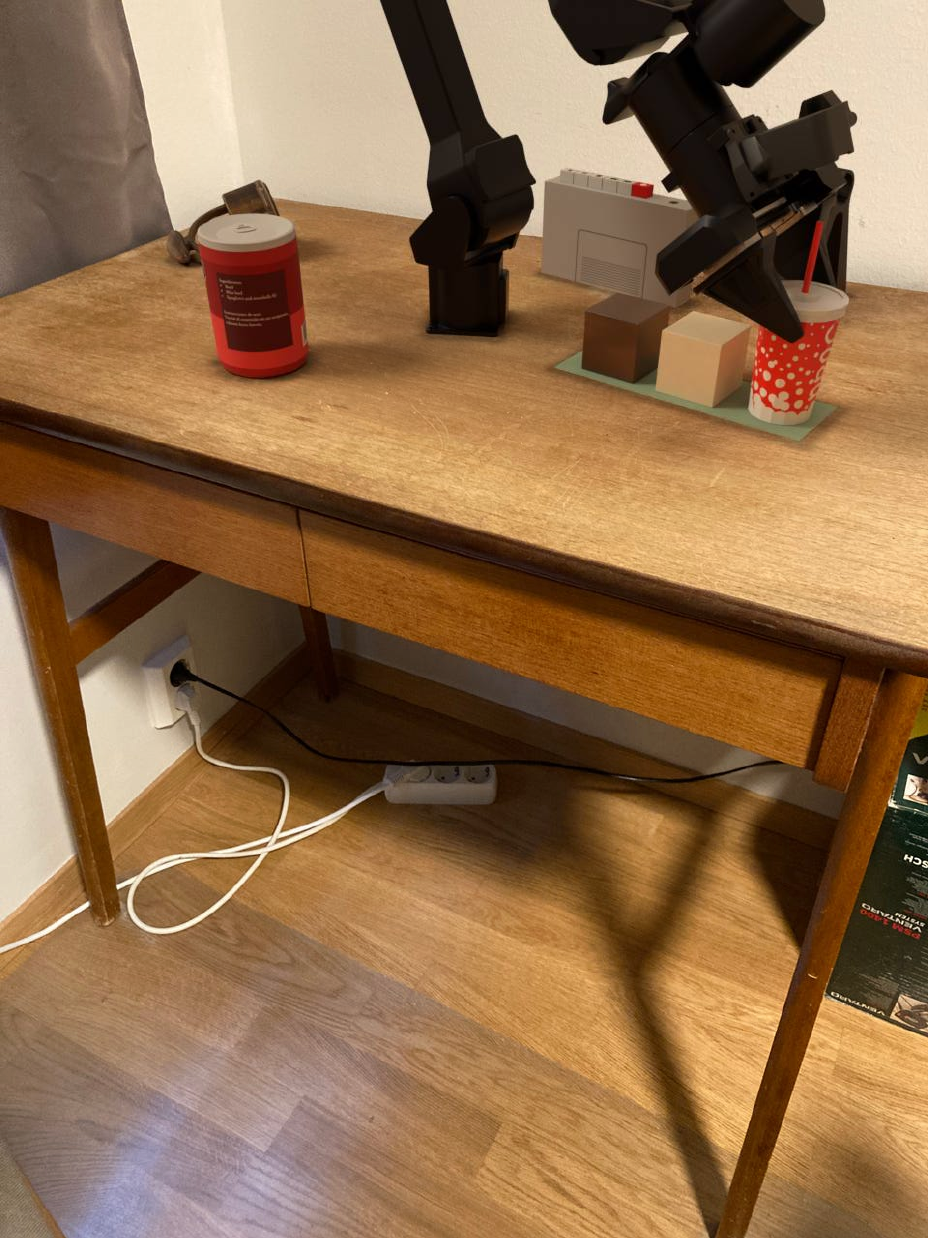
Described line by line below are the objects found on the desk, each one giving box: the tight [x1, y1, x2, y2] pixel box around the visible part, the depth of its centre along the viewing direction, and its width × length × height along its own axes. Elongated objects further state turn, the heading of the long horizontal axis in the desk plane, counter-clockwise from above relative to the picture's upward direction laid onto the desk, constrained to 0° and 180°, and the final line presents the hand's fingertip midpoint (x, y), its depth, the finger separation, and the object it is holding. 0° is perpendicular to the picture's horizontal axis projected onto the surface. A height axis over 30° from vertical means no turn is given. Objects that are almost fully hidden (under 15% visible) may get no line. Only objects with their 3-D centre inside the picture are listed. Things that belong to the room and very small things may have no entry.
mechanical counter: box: [166, 179, 281, 264], centre depth 105 cm, size 7×13×10 cm
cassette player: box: [540, 167, 699, 309], centre depth 95 cm, size 16×3×10 cm, turn 50°
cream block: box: [655, 310, 752, 408], centre depth 78 cm, size 5×5×5 cm
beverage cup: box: [748, 221, 850, 425], centre depth 72 cm, size 6×6×14 cm
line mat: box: [553, 350, 838, 443], centre depth 80 cm, size 22×7×1 cm, turn 52°
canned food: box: [197, 214, 309, 379], centre depth 82 cm, size 8×8×11 cm
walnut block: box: [581, 292, 672, 384], centre depth 81 cm, size 5×5×5 cm
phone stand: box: [761, 167, 856, 294], centre depth 92 cm, size 9×6×12 cm, turn 133°
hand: (817, 325), depth 71 cm, fingers closed on beverage cup, 6 cm apart
